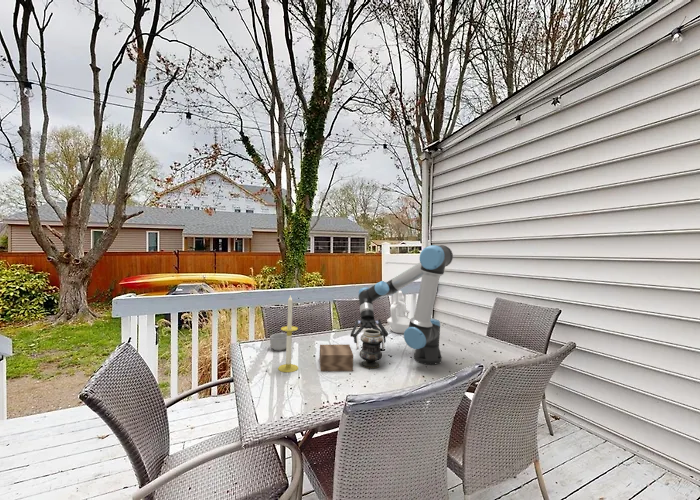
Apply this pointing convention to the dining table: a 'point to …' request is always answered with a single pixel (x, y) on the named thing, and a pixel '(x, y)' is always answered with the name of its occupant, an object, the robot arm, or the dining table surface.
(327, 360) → the walnut stand
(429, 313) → the robot arm
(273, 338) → the teacup
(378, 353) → the apothecary jar
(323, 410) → the dining table surface
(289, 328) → the rod with yellow discs
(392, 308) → the white tall piece
